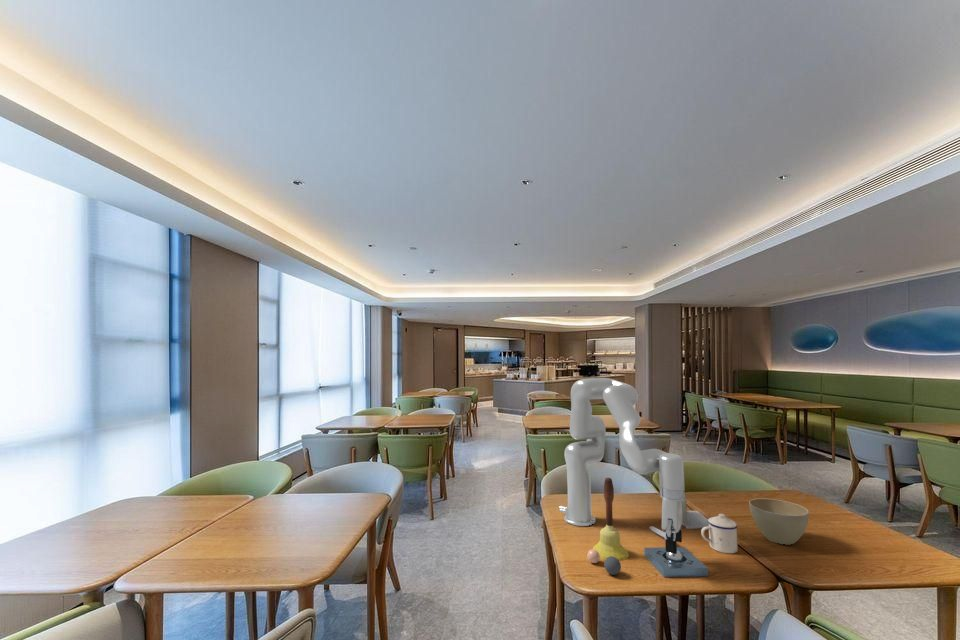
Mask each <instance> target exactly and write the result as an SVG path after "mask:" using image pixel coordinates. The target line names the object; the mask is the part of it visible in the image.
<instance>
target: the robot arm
mask: <svg viewBox="0 0 960 640" xmlns="http://www.w3.org/2000/svg"><path fill="white" fill-rule="evenodd" d="M590 400H603V402H604V403H605V406H606V408H608V410H609V412H610V414H611V416H612V417H613V419H614V421H615V423H616V425H617V427H618V428H619V434H618V442H619V449H620V451H621V454H622V456H623V457H624V460H625V461H626V462H627V463H626V464H627V465H628V466H629V468H630V469H631V470H632V471H633V472H634V473H636V474H638V475H646V474H651V473H656V472H658V474H659V475H658V476H659V497H660V498H661V499H662V501H661V502H662V503H661V531H665V532H666V537H665V538H664V542H665V547H666V552H669V553H673V554H677V547H678V544H677V543H682V542H683V536H682V526H683V525H682V501H683V500H685V495H686V494H685V471H684V459H683V457H682V456H681V455H679V454H676V453H670V452H669V453H668V452H667V451H664V450H662V449H660V448H659V449H658V448H650V449H643V450H641V448H640V447H639V445H638V443H637V441H636V438H635V429H636V428H637V427H638V426H639V425H640V424H641V421H642V418H641V416H640V415H639V413H638V412H637V410H636V408H635V407H634V406H635V405H637V403H638V400H639V393H638V391H637V390H636V388H635V387H634V386H632V385H630V384H628V383H625V382H622V381H619V380H616V379H612V378H609V377H590V378H582V379H578V380H577V381H575V382H574V383H573V384H572V386H571V389H570V402H571V404H570V405H571V406H570V417H569V418H570V419H569V421H570V422H569V433H570V437H572V439H574V440H577V441H575V442H571V443H569V444H568V445H567V446H566V447H565V449H564V460H565V467H566V482H567V483H566V484H567V487H566V488H567V506H565V505H559V507H558V510H559V513H564V516H563V518H564V519H563V520H564V521H565V522H566V523H568V524H570V525H573V526H576V527H590V526H593V525H594V524H595V523H596V518H595V516H594V515H593V514H592V490H591V489H592V487H591V486H592V482H591V481H592V480H591V479H592V478H591V475H590V474H591V473H590V471H589V469H588V468H587V467H588V465H592V464H597V463H600V462H601V461H602V460H603V458H604V455H605V446H606V445H605V444H606V431H607V429H606V424H605V422H604V420H603V419H602V418H601V417H600V416H598V415H593V407H592V403H591V401H590ZM581 440H582V441H581ZM583 440H584V441H583ZM592 524H593V525H592ZM589 525H590V526H589Z"/></svg>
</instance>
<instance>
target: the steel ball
mask: <svg viewBox="0 0 960 640" xmlns="http://www.w3.org/2000/svg"><path fill="white" fill-rule="evenodd" d="M666 559H667V560H669V561H672V562H675V563H682V561H683V557H682V554H681V553H680V552H679V551H678V550H677V554H673V553H669V552H667V553H666Z"/></svg>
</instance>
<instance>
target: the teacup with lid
mask: <svg viewBox="0 0 960 640" xmlns="http://www.w3.org/2000/svg"><path fill="white" fill-rule="evenodd" d="M707 519H708V523H709V526H706V527H703V528H702V529H700V531H701V532H700V534H701V536H702V539H704V541H707V542H709V546H710V548H711V549H713V550H714V551H717V552H720V553H723V554H736V553H737V552H738V532H737V528H738V524H737V522H736V521H734V520H732V519H731V518H729V517H727V516H726V515H725V514H724V513H719V514H718V515H716V516H711V517H710V516H709V518H707ZM707 530H708V538H707V537H706V536H705V531H707Z"/></svg>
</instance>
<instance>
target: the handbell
mask: <svg viewBox="0 0 960 640" xmlns="http://www.w3.org/2000/svg"><path fill="white" fill-rule="evenodd" d="M614 492H615V490H614V485H613V479H612V477H605V479H604V483H603V498H604V501H605V520H606V521H605V526H604V527H602V528H601V529H600V531H599V541H598V542H597V543H595V544H594V545H593V546H592V548H591V550H592V549H594V550H596V551H598V553H599V555H600V559H602V560H605V559H606V558H607V557H610V556H613V557H615V558H617V559H618V560H619V562H620V561H625V560H626V558H627V559H628V558H629V556H630V554H629V552H628V550H627V549H626V548H625V547H624V546H623V545H622V543H621V536H620V532H619V531H618V529H616V528H615V527H614V526H613V525H614V524H613V523H614V521H613V502H614V497H615V493H614ZM624 559H625V560H624Z"/></svg>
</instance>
